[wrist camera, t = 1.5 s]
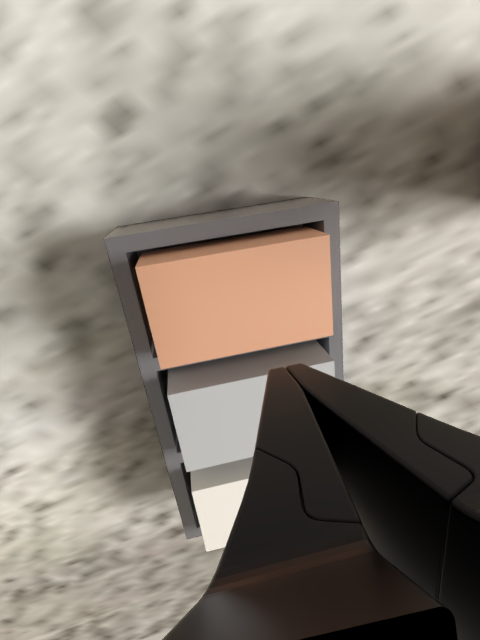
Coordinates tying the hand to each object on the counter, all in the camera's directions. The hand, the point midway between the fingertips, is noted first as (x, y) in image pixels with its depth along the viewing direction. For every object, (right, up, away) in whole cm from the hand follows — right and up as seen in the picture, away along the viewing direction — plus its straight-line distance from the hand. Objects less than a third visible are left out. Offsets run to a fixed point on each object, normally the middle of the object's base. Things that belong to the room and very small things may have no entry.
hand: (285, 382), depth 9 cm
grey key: (-1, -2, +10) cm, 11 cm away
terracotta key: (-2, +3, +8) cm, 9 cm away
